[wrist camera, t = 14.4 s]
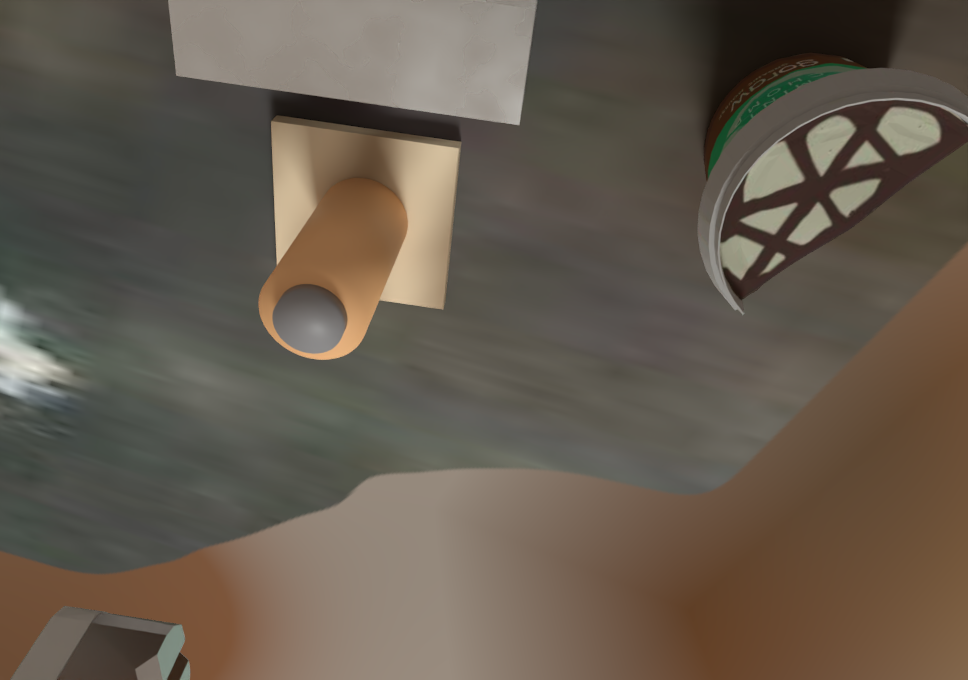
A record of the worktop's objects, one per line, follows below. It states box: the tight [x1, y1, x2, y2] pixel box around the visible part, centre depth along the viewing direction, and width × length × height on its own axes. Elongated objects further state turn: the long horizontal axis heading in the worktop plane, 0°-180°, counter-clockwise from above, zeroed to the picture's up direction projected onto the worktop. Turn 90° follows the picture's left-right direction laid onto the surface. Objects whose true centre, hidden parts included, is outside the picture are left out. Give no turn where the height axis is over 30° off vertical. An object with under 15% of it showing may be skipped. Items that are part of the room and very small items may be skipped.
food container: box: [698, 53, 968, 314], centre depth 35 cm, size 12×6×10 cm, turn 136°
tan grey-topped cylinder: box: [259, 178, 408, 360], centre depth 39 cm, size 5×5×11 cm
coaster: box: [271, 115, 461, 309], centre depth 44 cm, size 10×10×1 cm
